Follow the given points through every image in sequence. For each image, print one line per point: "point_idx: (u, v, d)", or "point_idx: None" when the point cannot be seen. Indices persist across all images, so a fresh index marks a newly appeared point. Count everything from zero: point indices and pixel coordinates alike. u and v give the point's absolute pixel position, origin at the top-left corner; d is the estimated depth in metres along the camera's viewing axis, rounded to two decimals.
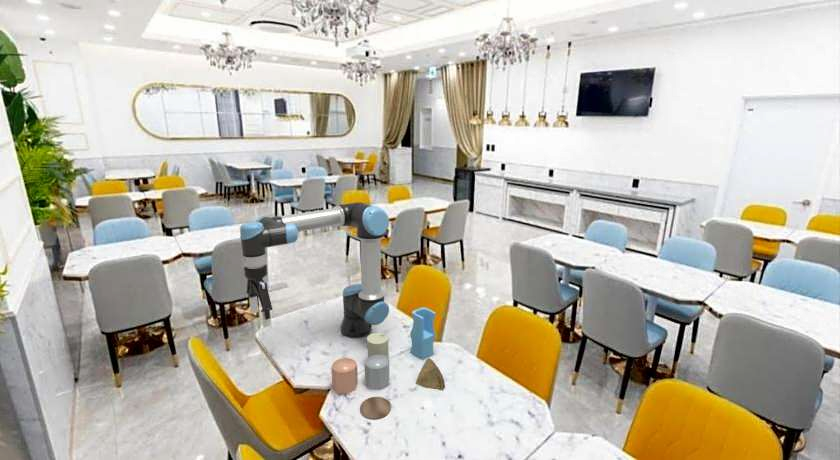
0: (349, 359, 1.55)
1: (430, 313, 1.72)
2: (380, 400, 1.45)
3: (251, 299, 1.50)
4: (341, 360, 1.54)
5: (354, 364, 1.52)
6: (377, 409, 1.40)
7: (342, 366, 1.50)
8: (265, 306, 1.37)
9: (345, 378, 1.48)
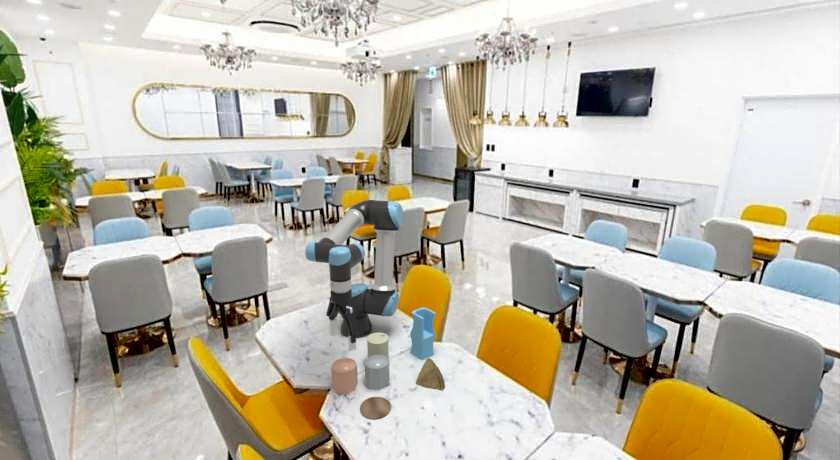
0: (349, 359, 1.55)
1: (430, 313, 1.72)
2: (380, 400, 1.45)
3: (332, 322, 1.51)
4: (341, 360, 1.54)
5: (354, 364, 1.52)
6: (377, 409, 1.40)
7: (342, 366, 1.50)
8: (353, 330, 1.39)
9: (345, 378, 1.48)
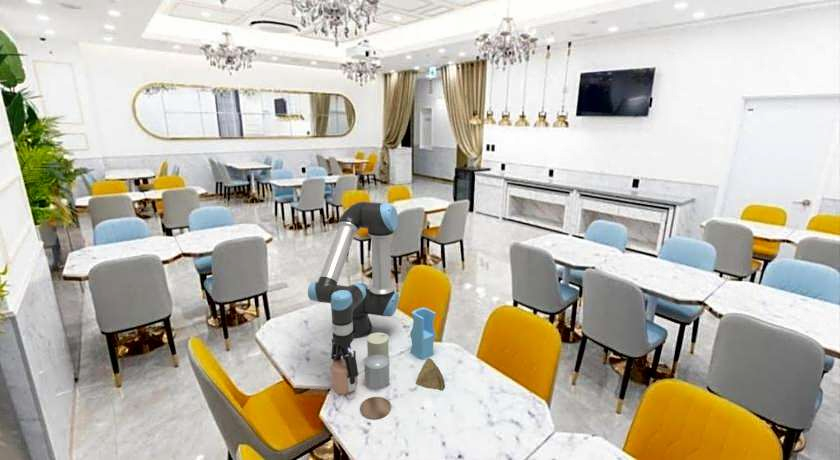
0: None
1: (430, 313, 1.72)
2: (380, 400, 1.45)
3: None
4: (341, 360, 1.54)
5: None
6: (377, 409, 1.40)
7: (342, 366, 1.50)
8: (353, 373, 1.45)
9: (345, 378, 1.48)
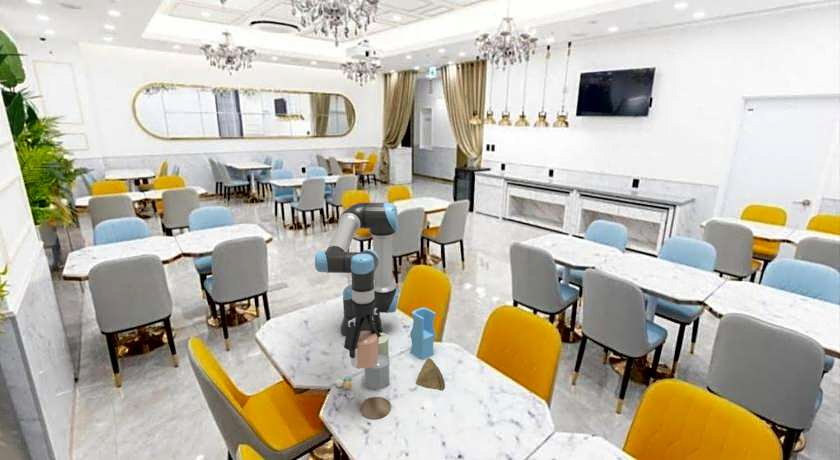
0: (374, 338, 1.37)
1: (430, 313, 1.72)
2: (380, 400, 1.45)
3: None
4: (371, 334, 1.40)
5: (365, 342, 1.34)
6: (377, 409, 1.40)
7: (360, 336, 1.38)
8: (345, 343, 1.32)
9: None
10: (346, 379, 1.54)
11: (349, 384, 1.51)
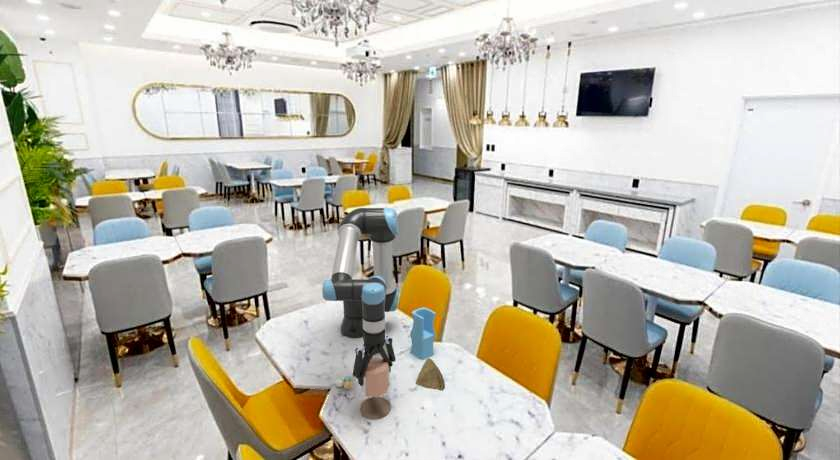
0: (384, 367, 1.36)
1: (430, 313, 1.72)
2: (380, 400, 1.45)
3: None
4: (383, 362, 1.39)
5: (374, 372, 1.33)
6: (377, 409, 1.40)
7: (371, 364, 1.38)
8: (353, 371, 1.33)
9: None
10: (346, 379, 1.54)
11: (349, 384, 1.51)
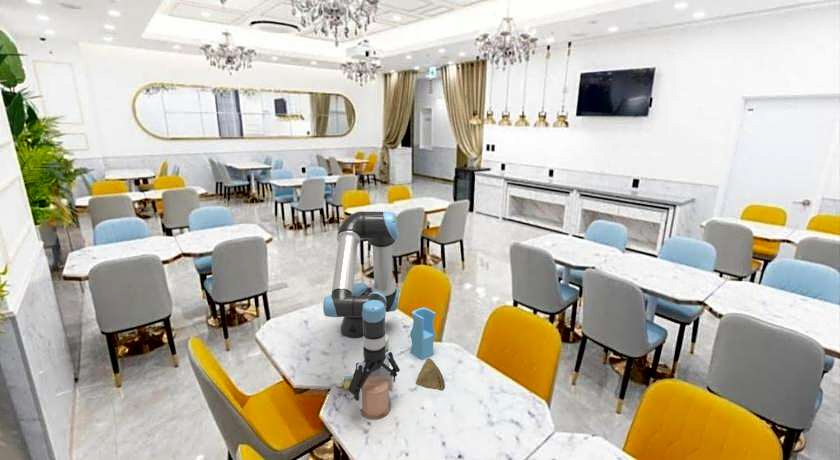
0: (384, 387, 1.38)
1: (430, 313, 1.72)
2: None
3: (388, 376, 1.44)
4: (383, 381, 1.41)
5: (374, 391, 1.36)
6: None
7: (372, 383, 1.40)
8: (350, 386, 1.33)
9: None
10: (346, 379, 1.54)
11: (349, 384, 1.51)
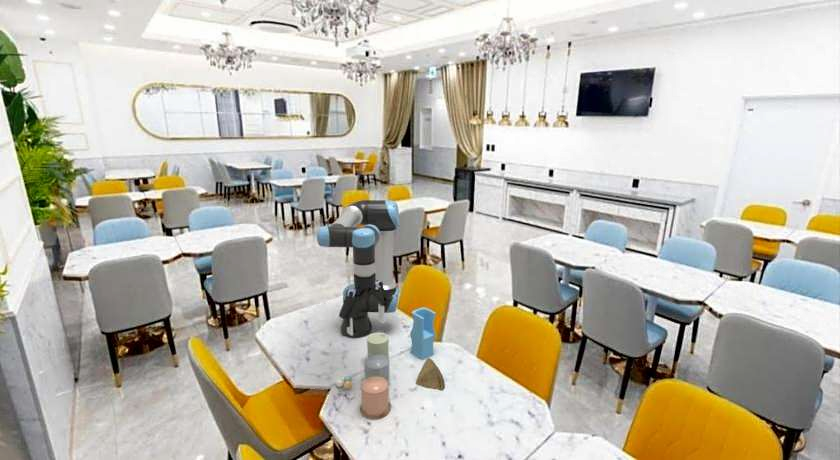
0: (384, 387, 1.38)
1: (430, 313, 1.72)
2: None
3: (379, 306, 1.46)
4: (383, 381, 1.41)
5: (374, 391, 1.36)
6: None
7: (372, 383, 1.40)
8: (340, 312, 1.35)
9: None
10: (346, 379, 1.54)
11: (349, 384, 1.51)
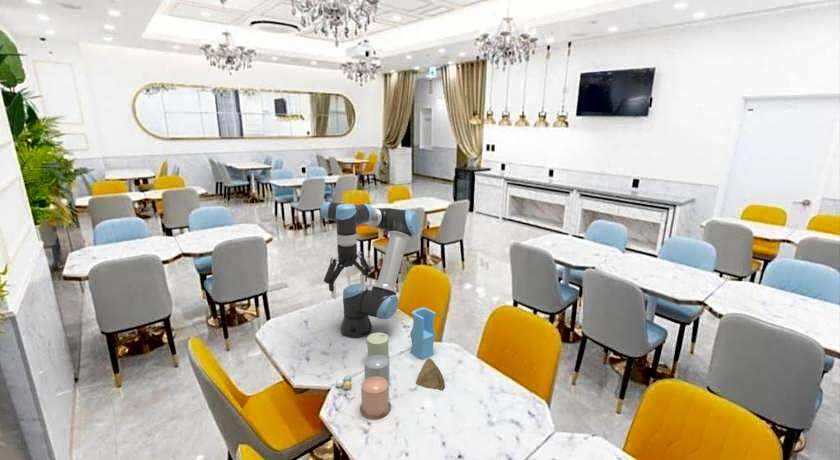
0: (384, 387, 1.38)
1: (430, 313, 1.72)
2: None
3: (361, 275, 1.64)
4: (383, 381, 1.41)
5: (374, 391, 1.36)
6: None
7: (372, 383, 1.40)
8: (325, 277, 1.53)
9: None
10: (346, 379, 1.54)
11: (349, 384, 1.51)
